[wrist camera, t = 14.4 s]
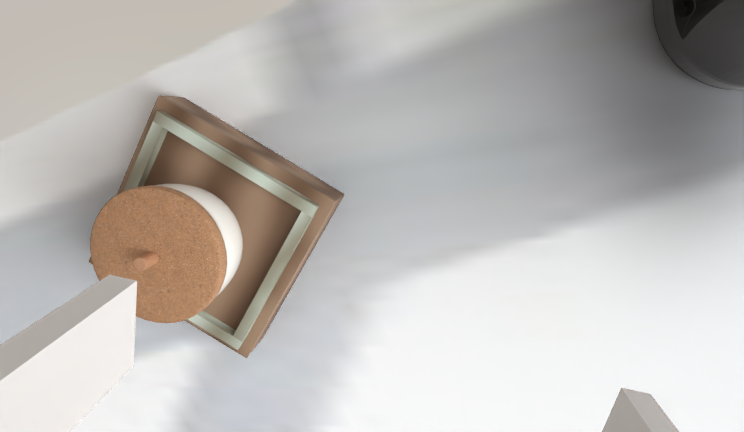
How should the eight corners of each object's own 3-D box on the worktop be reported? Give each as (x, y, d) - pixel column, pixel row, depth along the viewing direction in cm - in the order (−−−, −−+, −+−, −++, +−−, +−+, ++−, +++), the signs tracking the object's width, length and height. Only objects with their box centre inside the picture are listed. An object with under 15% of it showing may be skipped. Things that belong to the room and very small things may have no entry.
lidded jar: (170, 296, 43) (99, 342, 34) (136, 187, 41) (51, 206, 32) (274, 278, 41) (228, 323, 32) (243, 163, 39) (185, 176, 30)
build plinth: (344, 194, 42) (332, 203, 38) (262, 338, 47) (242, 363, 42) (184, 97, 43) (151, 94, 38) (117, 250, 47) (80, 264, 42)
